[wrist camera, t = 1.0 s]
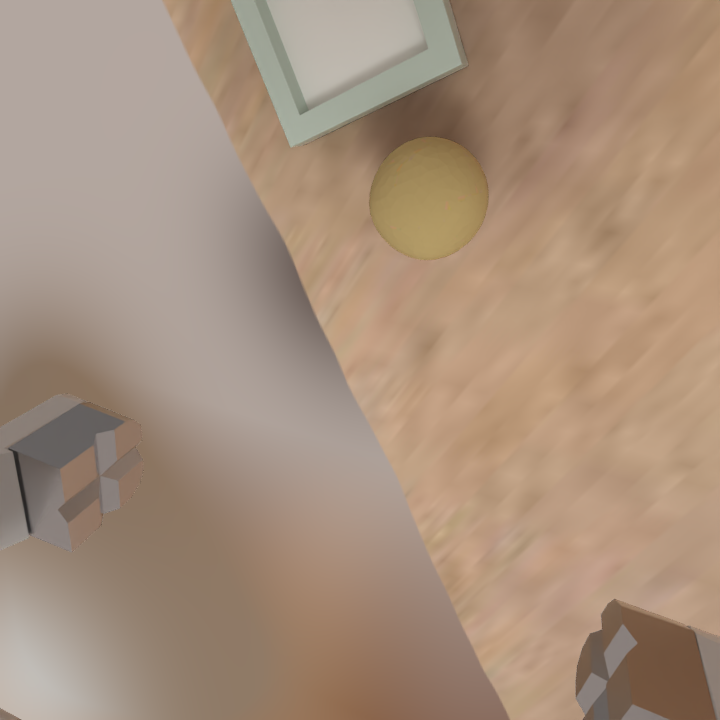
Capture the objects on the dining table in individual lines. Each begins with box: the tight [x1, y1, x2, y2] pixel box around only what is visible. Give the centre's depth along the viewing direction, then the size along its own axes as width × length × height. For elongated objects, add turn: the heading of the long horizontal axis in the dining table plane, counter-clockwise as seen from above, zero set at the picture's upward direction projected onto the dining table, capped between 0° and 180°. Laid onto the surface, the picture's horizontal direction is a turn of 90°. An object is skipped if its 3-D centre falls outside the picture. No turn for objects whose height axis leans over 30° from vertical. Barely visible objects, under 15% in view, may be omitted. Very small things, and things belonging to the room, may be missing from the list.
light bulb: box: [369, 137, 489, 260], centre depth 31 cm, size 6×6×10 cm
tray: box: [231, 0, 469, 147], centre depth 32 cm, size 12×12×2 cm
